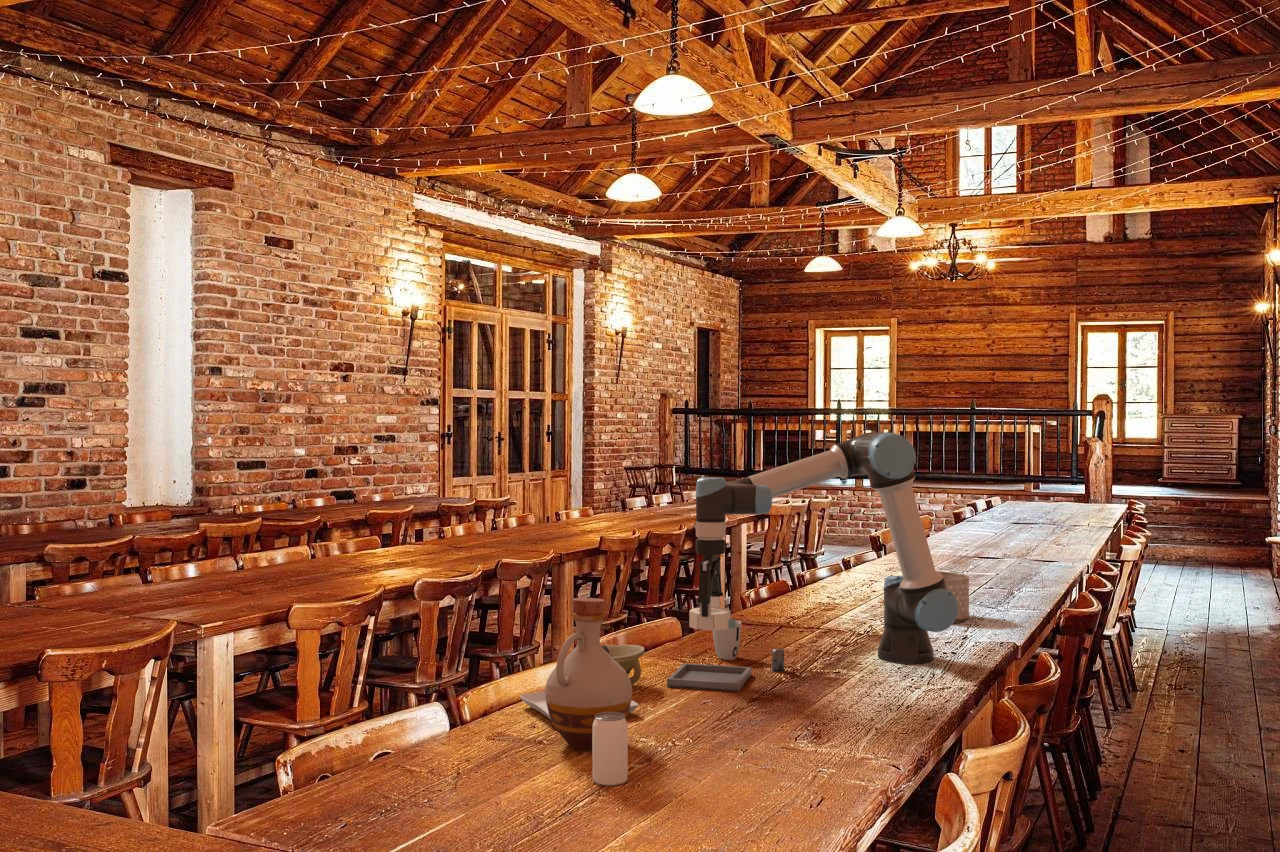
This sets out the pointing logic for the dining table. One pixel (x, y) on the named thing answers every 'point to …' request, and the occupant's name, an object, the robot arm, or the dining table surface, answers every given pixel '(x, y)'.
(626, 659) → the bowl
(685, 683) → the tray
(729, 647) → the cup
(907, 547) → the robot arm
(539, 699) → the salad plate
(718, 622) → the ring
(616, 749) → the can
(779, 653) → the capsule
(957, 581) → the planter
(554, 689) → the jug
